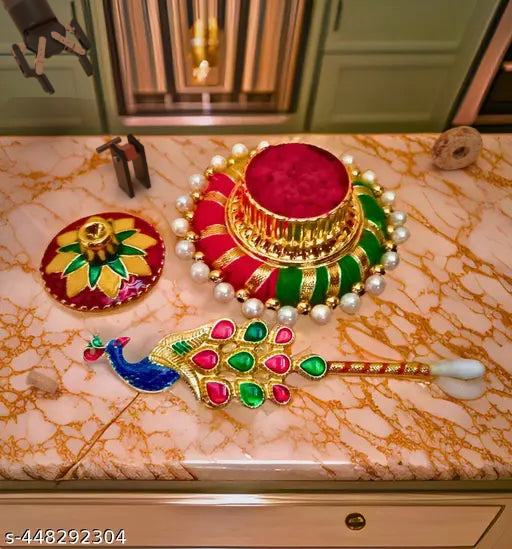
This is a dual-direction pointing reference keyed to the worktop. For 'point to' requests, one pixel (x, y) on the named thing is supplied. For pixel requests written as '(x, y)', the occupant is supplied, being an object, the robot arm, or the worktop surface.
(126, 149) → the latch lever
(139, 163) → the latch bracket
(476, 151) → the stone disc
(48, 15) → the robot arm
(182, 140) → the worktop surface
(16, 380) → the worktop surface
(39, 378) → the beige block
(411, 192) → the worktop surface
